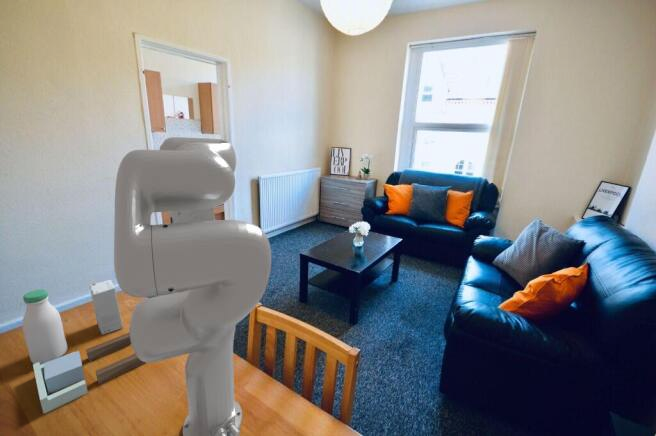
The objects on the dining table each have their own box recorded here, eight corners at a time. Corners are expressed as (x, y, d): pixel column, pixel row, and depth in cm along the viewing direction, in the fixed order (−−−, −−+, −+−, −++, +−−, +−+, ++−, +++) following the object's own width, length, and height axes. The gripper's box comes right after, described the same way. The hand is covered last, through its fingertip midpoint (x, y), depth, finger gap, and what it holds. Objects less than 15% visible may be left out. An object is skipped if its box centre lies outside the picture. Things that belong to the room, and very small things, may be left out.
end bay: (87, 392, 72) (85, 379, 71) (43, 414, 67) (40, 400, 66) (75, 360, 82) (73, 348, 81) (36, 376, 76) (32, 364, 75)
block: (85, 379, 76) (82, 365, 75) (48, 394, 72) (44, 379, 70) (81, 364, 81) (79, 350, 80) (47, 377, 76) (43, 363, 75)
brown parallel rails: (146, 362, 83) (145, 353, 82) (99, 384, 75) (97, 375, 74) (132, 339, 91) (131, 331, 90) (87, 358, 83) (86, 349, 82)
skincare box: (123, 328, 96) (116, 288, 92) (100, 336, 92) (92, 294, 88) (118, 316, 102) (111, 278, 98) (96, 323, 98) (88, 283, 93)
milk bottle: (70, 355, 84) (56, 293, 78) (32, 370, 78) (14, 304, 73) (66, 342, 89) (52, 283, 83) (30, 354, 83) (13, 292, 78)
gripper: (163, 194, 65) (171, 269, 70) (225, 188, 76) (228, 253, 81) (151, 189, 70) (159, 259, 75) (211, 183, 80) (214, 245, 85)
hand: (195, 256), depth 78 cm, fingers closed
